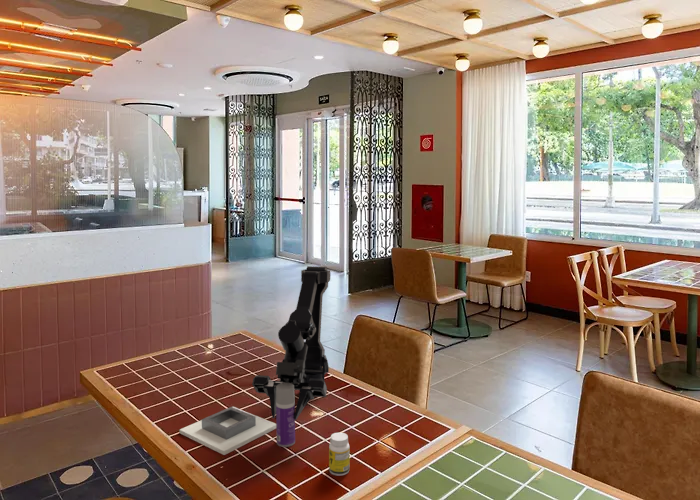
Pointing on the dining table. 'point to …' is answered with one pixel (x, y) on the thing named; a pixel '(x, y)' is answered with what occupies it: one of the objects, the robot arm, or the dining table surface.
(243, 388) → the dining table surface
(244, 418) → the collar
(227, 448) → the mat
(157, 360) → the dining table surface
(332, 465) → the supplement bottle
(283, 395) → the container
